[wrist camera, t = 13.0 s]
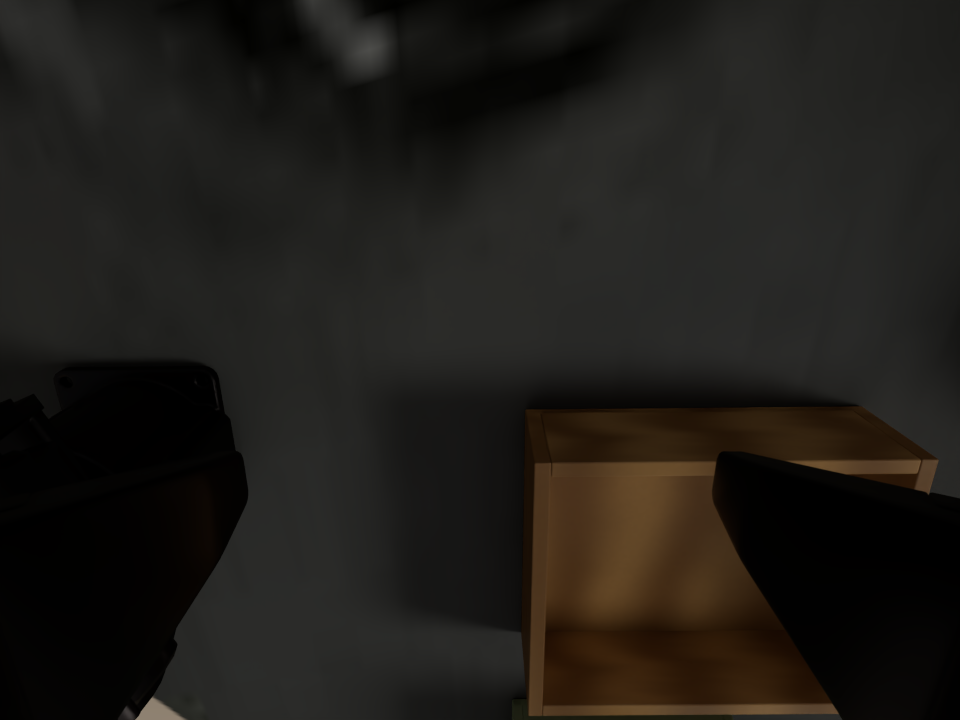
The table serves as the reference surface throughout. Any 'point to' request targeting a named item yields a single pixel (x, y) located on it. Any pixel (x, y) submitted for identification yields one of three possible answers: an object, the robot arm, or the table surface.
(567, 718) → the top basket
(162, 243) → the table surface
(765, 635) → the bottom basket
